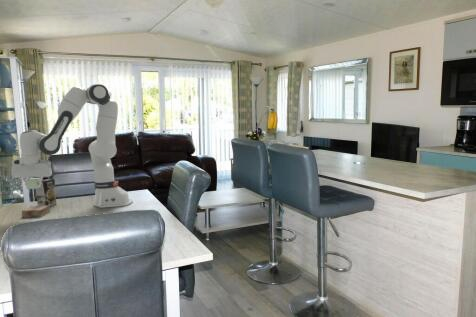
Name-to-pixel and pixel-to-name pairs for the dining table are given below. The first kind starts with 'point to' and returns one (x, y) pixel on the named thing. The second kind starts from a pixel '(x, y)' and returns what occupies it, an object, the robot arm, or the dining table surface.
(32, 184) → the sage cube
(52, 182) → the coffee box
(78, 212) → the dining table surface
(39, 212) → the walnut block
